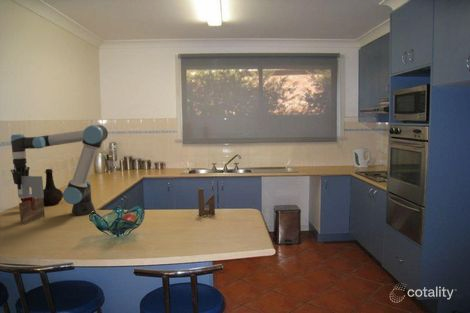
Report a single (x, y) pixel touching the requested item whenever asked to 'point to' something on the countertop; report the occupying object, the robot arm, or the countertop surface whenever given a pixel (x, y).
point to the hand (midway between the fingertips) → (22, 193)
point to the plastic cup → (28, 200)
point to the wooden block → (206, 203)
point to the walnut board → (30, 214)
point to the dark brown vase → (51, 190)
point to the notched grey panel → (32, 187)
